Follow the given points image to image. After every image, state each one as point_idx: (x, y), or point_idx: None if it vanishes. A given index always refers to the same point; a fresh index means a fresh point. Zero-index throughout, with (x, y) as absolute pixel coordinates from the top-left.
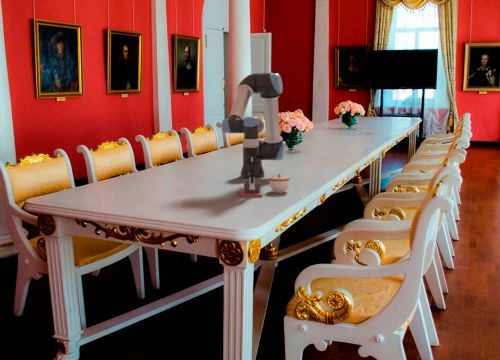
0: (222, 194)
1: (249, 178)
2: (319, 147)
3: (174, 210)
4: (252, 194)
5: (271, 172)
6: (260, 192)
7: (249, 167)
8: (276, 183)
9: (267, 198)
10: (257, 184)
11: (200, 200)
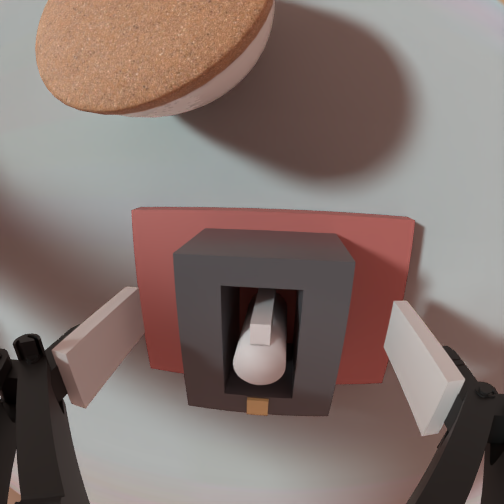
0: (261, 450)
1: (422, 421)
2: None
3: (474, 499)
4: (390, 302)
5: None
6: (316, 225)
7: (78, 469)
8: (267, 33)
9: (460, 180)
10: (350, 286)
11: (378, 496)
